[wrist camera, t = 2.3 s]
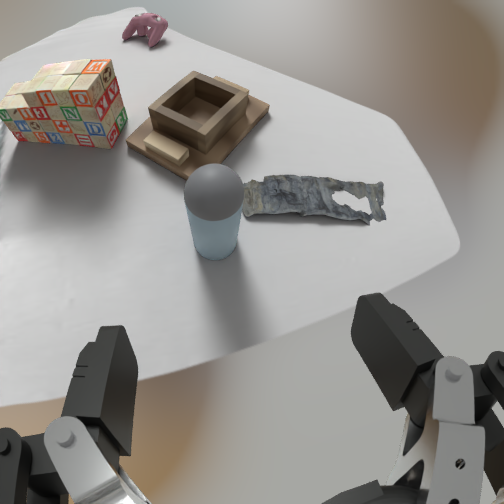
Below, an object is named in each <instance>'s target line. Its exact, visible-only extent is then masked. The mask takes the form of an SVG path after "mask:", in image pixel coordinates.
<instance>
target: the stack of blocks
mask: <svg viewBox="0 0 504 504" xmlns="http://www.w3.org/2000/svg"><path fill="white" fill-rule="evenodd" d="M0 118H1V120H2V121H4V123H5V124H6V126H7V127H8V128H9V130H10V131H11V132H12V133H13V135H14V136H15V137H16V139H17V140H18V141H29V142H42V143H60V144H73V145H80V146H89V147H97V148H106V149H112V148H113V146H114V144H115V142H116V140H117V138H118V136H119V134H120V132H121V130H122V128H123V126H124V125H125V123H126V121H127V119H128V118H127V114H126V111H125V107H124V106H123V101H122V98H121V94H120V90H119V86H118V82H117V78H116V76H115V73H114V69H113V65H112V60H111V59H103V60H91V59H85V60H75V61H67V62H60V63H53V64H47V65H43V67H42V68H41V69H40V70H39V71H38V73H37V74H36V75H35V76H34V77H33V79H32V80H31V81H26V82H19V83H15V84H14V85H13V86H12V88H11V89H10V90H9V91H8V93H7V94H6V95H5V97H4V98H3V100H2V101H1V102H0Z"/></svg>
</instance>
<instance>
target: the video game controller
mask: <svg viewBox="0 0 504 504" xmlns="http://www.w3.org/2000/svg"><path fill="white" fill-rule="evenodd" d="M147 26H149V27H151V28H150V29H149V30H148V27H147ZM167 27H168V23H167V21H166V20H165V19H163V18H161V17H160V16H159V15H156V14H153V13H143V14H138V15H135V17H133V18H132V19H131V21H130V23H129V24H128V26H127V27H126V29H125V30H124V32H123V35H122V38H123V39H124V40H127V39H128V38H130V37H131V36H132V35H133V34H134V32H135V31H136V30H137V33H138V35H139V36H145V35H146V34H147V36H148V38H149V41H148V45H149V46H150V47H153V46H154V45H156V44H157V43H158V42H159V40H160V39H161V37H162V35H163V33H164V31H166V29H167Z"/></svg>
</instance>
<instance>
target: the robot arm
mask: <svg viewBox="0 0 504 504" xmlns="http://www.w3.org/2000/svg"><path fill="white" fill-rule="evenodd" d="M351 337H352V341H353V344H354V346H355V347H356V349H357V351H358V352H359V354H360V356H361V357H362V359H363V361H364V362H365V364H366V365H367V367H368V369H369V371H370V372H371V374H372V376H373V377H374V379H375V381H376V382H377V384H378V386H379V388H380V389H381V391H382V393H383V394H384V396H385V397H386V399H387V401H388V403H389V405H390V407H391V408H392V410H393V411H395V410H397V409H400V408H402V407H405V408H406V410H407V412H408V414H407V416H406V420H405V426H404V431H403V435H402V440H401V445H400V449H399V453H398V457H397V461H396V463H395V465H394V467H393V469H392V471H391V473H390V475H389V477H388V479H387V482H386V485H385V486H380V485H379V483H378V480H375V481H372V482H369V483H367V484H364V485H361V486H359V487H356V488H353V489H350V490H347V491H344V492H341V493H340V494H338V495H336V496H334V497H333V498H331V499H329V500H327V501H326V502H324V503H322V504H479V503H480V496H481V488H482V480H483V469H484V471H485V473H486V475H487V477H488V479H489V481H490V483H491V485H492V487H493V489H494V492H495V494H496V496H497V497H496V500H495V501H494V502H493V503H492V504H504V428H503V426H502V424H501V423H500V421H499V420H498V418H497V416H496V415H495V414H494V412H493V410H492V409H491V408H492V407H493V405H494V404H495V403H496V402H497V401H498V402H499V403H500V405H501V407H502V408H503V410H504V352H501V351H495V352H492V353H491V354H490V355H489V357H488V358H487V360H486V362H485V363H484V364H479V365H471V366H469V365H468V364H467V363H466V362H465V361H463V360H462V359H460V358H457V357H452V356H448V357H444V356H443V355H442V354H441V353H440V352H439V350H438V349H437V348H436V347H435V345H434V344H433V343H432V342H431V341H430V339H429V338H428V337H427V336H426V335H425V334H424V332H423V331H422V330H421V329H419V327H418V325H417V324H416V323H415V322H413V319H412V318H411V317H410V316H409V315H408V314H407V313H406V311H405V310H403V309H401V308H400V307H398V306H396V305H395V304H390V303H389V301H388V300H387V299H386V298H385V297H384V296H383V295H382V294H381V293H373V294H368V295H362V296H360V297H359V298H358V301H357V305H356V310H355V314H354V319H353V323H352V327H351ZM137 379H138V365H137V360H136V356H135V354H134V351H133V349H132V346H131V344H130V341H129V338H128V335H127V333H126V330H125V328H124V326H122V325H119V326H102V327H100V329H99V332H98V335H97V338H96V341H95V342H89V343H88V344H87V345H86V346H85V347H84V349H83V350H82V351H81V352H80V354H79V357H78V360H77V363H76V368H75V369H74V372H73V378H72V379H71V382H70V386H69V389H68V392H67V396H66V400H65V404H64V407H63V411H62V414H61V417H60V418H57V419H55V420H54V421H53V422H52V423H50V424H49V426H48V427H47V429H46V431H45V433H42V434H37V435H32V436H25V437H21V436H20V435H19V434H18V433H17V432H16V431H15V430H13V429H11V428H1V429H0V504H68V496H69V494H70V496H71V498H72V499H73V501H74V503H75V504H152V503H151V502H150V501H149V500H148V499H147V498H146V497H145V495H144V494H143V493H142V492H141V491H140V489H139V488H138V487H137V486H136V485H135V483H134V482H133V481H132V480H131V478H130V477H129V476H128V475H127V473H126V472H125V471H124V469H123V468H122V467H121V465H120V464H119V456H131V442H132V428H133V416H134V405H135V396H136V387H137ZM27 489H28V491H27ZM26 500H27V503H26Z"/></svg>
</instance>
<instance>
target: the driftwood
mask: <svg viewBox="0 0 504 504" xmlns="http://www.w3.org/2000/svg"><path fill="white" fill-rule="evenodd" d="M383 185H384V184H383V182H378V183H377V184H365V183H363V182H343V181H339V180H336V179H332V178H329V177H326V178H324V177H323V178H322V177H319V178H317V177H312V176H301V177H299V176H296V175H278V176H275V175H273V176H265V177H264V182H258V181H257V182H256V181H255V180H251V182H248V183H246V184H245V183H244V184H243V187H244V200H243V206H242V210H243V213H244V215H245V216H246V217H249V216H251V215H253V214H256V213H259V214H261V213H269V214H279V213H286V212H299V213H300V216H301V217H303V216H306V215H312V214H318V215H321V214H324V215H327V216H332V217H334V218H338V219H343V220H344V219H345V220H356V219H362V220H363V221H364V222H366V223H367V224H369V225H370V222H369V221H370V220H372V219H375V220H376V221H379V222H381V221H382V220H386V215H385V213H384V210H383V209H382V208H381V205H383V196H382V195H383ZM340 189H342V190H345V191H347V192H349V193H350V194H352V195H355V197H357V198H358V199H360V198H363V197H365V196H366V197H367V198H368V200H369V203H370V208H371V211H372V214H370V215H368V214H367V213H365V212H362V211H361V210H360V211H357V212H356V211H355V210H352V209H351V208H350V207H349V206H348V205H346V204H344V205H339V204H337V203H336V202H335V201H334V200H333V199H332V194H334V193H335V192H334V191H340ZM376 198H377V200H378V201H376Z"/></svg>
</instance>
